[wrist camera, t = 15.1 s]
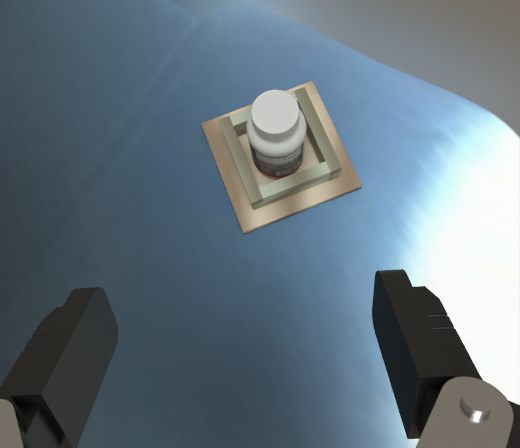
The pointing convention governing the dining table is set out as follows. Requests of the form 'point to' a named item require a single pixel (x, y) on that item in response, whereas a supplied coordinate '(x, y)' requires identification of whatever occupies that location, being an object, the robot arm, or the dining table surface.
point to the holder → (288, 188)
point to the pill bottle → (276, 134)
